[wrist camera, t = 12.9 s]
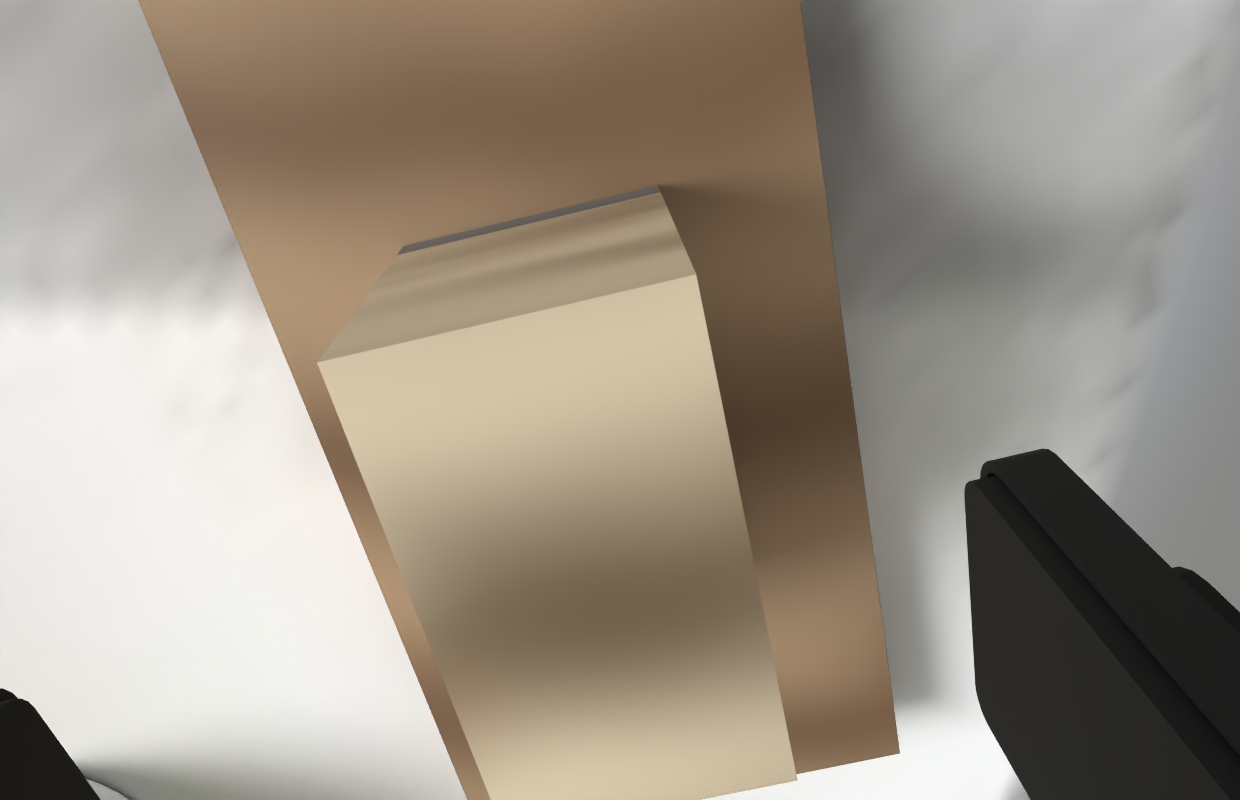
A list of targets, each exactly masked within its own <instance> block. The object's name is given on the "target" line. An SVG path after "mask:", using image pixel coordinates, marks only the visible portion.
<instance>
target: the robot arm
mask: <svg viewBox="0 0 1240 800" xmlns="http://www.w3.org/2000/svg"><path fill="white" fill-rule="evenodd" d="M965 512H966V529H967V547H968V564H969V582H970V599H971V616H972V634H973V651H974V668H975V685H976V692H977V696H978V700H979V704H980V707H981V710H982V712H983V715H984V717H985V720H986V722H987V724H988V725H989V727H990V729H991V731H992V733H993V734H994V736H995V738H996V740H997V741H998V743H999V745H1000V747H1001V748H1002V750H1003V752H1004V754H1005V755H1006V757H1007V759H1008V761H1009V762H1010V764H1011V766H1012V768H1013V769H1014V771H1015V773H1016V775H1017V776H1018V778H1019V780H1020V782H1021V783H1022V785H1023V787H1024V789H1025V790H1026V792H1027V794H1028V796H1029V797H1030V799H1031V800H1240V612H1239V611H1238V610H1237V609H1236V608H1235V607H1234V606H1232V605H1231V604H1230V603H1229V602H1228V601H1227V600H1226V599H1225V598H1224V597H1223V596H1222V595H1221V594H1220V593H1219V592H1218V591H1217V590H1216V589H1215V588H1214V587H1212V586H1211V585H1210V584H1209V583H1208V582H1207V581H1205V580H1204V579H1203V578H1202V577H1200V576H1199V575H1198V574H1196V573H1195V572H1194V571H1191V570H1188V569H1185V568H1182V567H1175V568H1171V567H1170V566H1169V565H1168V564H1167V563H1166V562H1165V561H1164V560H1163V559H1162V558H1161V557H1160V556H1159V555H1158V554H1157V553H1156V552H1155V551H1154V550H1153V549H1152V548H1151V547H1150V546H1149V545H1148V544H1147V543H1146V542H1145V541H1144V540H1143V539H1142V538H1141V537H1140V536H1139V535H1138V534H1137V533H1136V532H1135V531H1134V530H1133V529H1132V528H1131V527H1130V526H1129V525H1127V524H1126V523H1125V522H1124V521H1123V520H1122V519H1121V518H1120V517H1119V516H1118V515H1117V514H1116V513H1115V512H1114V511H1113V510H1112V509H1111V508H1110V507H1109V506H1108V505H1107V504H1106V503H1105V502H1104V501H1103V500H1102V499H1101V498H1100V497H1099V496H1098V495H1097V494H1096V493H1095V492H1094V491H1093V490H1092V489H1091V488H1090V487H1089V486H1088V485H1087V484H1086V483H1085V482H1084V481H1083V480H1082V479H1081V478H1080V477H1079V476H1078V475H1077V474H1076V473H1075V472H1074V471H1072V470H1071V469H1070V468H1069V467H1068V466H1067V465H1066V464H1065V463H1064V462H1063V461H1062V460H1061V459H1060V458H1059V457H1058V456H1057V455H1056V454H1055V453H1053V452H1052V451H1051V450H1049V449H1039V450H1035V451H1031V452H1026V453H1022V454H1017V455H1013V456H1009V457H1004V458H1000V459H996V460H991V461H987V462H986V463H984V464H983V466H982V469H981V477H980V479H978V480H973V481H969V482H968V483H967V484H966V486H965ZM0 800H101V799H100V798H99V796H98V795H97V794H96V792H95V791H94V790H93V788H92V787H91V785H90V784H89V783H88V781H87V780H86V778H85V777H84V776H83V774H82V773H81V771H80V770H79V769H78V767H77V766H76V765H75V763H74V762H73V760H72V759H71V758H70V756H69V755H68V753H67V752H66V751H65V749H64V748H63V747H62V745H61V744H60V742H59V741H58V740H57V738H56V737H55V735H54V734H53V733H52V731H51V730H50V729H49V727H48V726H47V724H46V723H45V722H44V720H43V719H42V717H41V716H40V715H39V713H38V712H37V711H36V709H35V708H34V707H33V706H32V705H31V704H30V703H29V702H28V701H25V700H23V699H18V698H17V697H16V696H15V695H14V694H13V693H12V692H9V691H7V690H5V689H0Z"/></svg>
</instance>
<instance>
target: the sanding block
mask: <svg viewBox="0 0 1240 800" xmlns="http://www.w3.org/2000/svg"><path fill="white" fill-rule="evenodd" d="M317 364H318V367H319V369H320V372H321V374H322V377H323V379H324V382H325V384H326V387H327V389H328V392H329V394H330V397H331V399H332V402H333V404H334V407H335V409H336V412H337V414H338V417H339V419H340V422H341V424H342V427H343V430H344V432H345V435H346V437H347V440H348V442H349V445H350V447H351V450H352V452H353V455H354V457H355V460H356V462H357V465H358V467H359V470H360V472H361V475H362V477H363V480H364V482H365V485H366V487H367V490H368V492H369V495H370V497H371V500H372V502H373V505H374V507H375V510H376V512H377V515H378V518H379V520H380V523H381V525H382V528H383V530H384V533H385V535H386V538H387V540H388V543H389V545H390V548H391V550H392V553H393V555H394V558H395V560H396V563H397V565H398V568H399V570H400V573H401V575H402V578H403V580H404V583H405V585H406V588H407V590H408V593H409V595H410V598H411V601H412V603H413V606H414V608H415V611H416V613H417V616H418V618H419V621H420V623H421V626H422V628H423V631H424V633H425V636H426V638H427V641H428V643H429V646H430V648H431V651H432V653H433V656H434V658H435V661H436V663H437V666H438V668H439V671H440V673H441V676H442V678H443V681H444V683H445V686H446V689H447V691H448V694H449V696H450V699H451V701H452V704H453V706H454V709H455V711H456V714H457V716H458V719H459V721H460V724H461V726H462V729H463V731H464V734H465V736H466V739H467V741H468V744H469V746H470V749H471V751H472V754H473V756H474V759H475V761H476V764H477V766H478V769H479V771H480V774H481V777H482V779H483V782H484V784H485V787H486V789H487V792H488V794H489V797H490V799H491V800H701V799H706V798H711V797H716V796H721V795H726V794H731V793H736V792H741V791H746V790H751V789H756V788H761V787H766V786H771V785H776V784H781V783H786V782H791V781H796V780H797V776H796V771H795V766H794V761H793V756H792V751H791V746H790V741H789V736H788V731H787V726H786V721H785V716H784V711H783V706H782V701H781V696H780V691H779V686H778V681H777V676H776V671H775V666H774V661H773V656H772V651H771V646H770V641H769V636H768V631H767V626H766V621H765V616H764V611H763V606H762V601H761V596H760V591H759V586H758V581H757V576H756V571H755V566H754V561H753V556H752V551H751V546H750V541H749V536H748V531H747V526H746V521H745V516H744V511H743V506H742V501H741V496H740V491H739V486H738V481H737V476H736V471H735V466H734V461H733V456H732V451H731V446H730V441H729V436H728V431H727V426H726V421H725V416H724V411H723V406H722V401H721V396H720V391H719V386H718V381H717V376H716V371H715V366H714V361H713V356H712V351H711V346H710V341H709V336H708V331H707V326H706V321H705V316H704V311H703V306H702V301H701V296H700V291H699V286H698V281H697V276H696V273H695V270H694V268H693V266H692V263H691V261H690V259H689V256H688V254H687V252H686V250H685V247H684V245H683V243H682V240H681V238H680V236H679V233H678V231H677V229H676V226H675V224H674V222H673V219H672V217H671V215H670V212H669V210H668V208H667V205H666V203H665V201H664V199H663V196H662V194H661V192H660V189H659V187H658V186H653V187H649V188H645V189H641V190H637V191H632V192H628V193H624V194H620V195H616V196H612V197H607V198H603V199H599V200H595V201H591V202H586V203H582V204H578V205H574V206H570V207H566V208H561V209H557V210H553V211H549V212H545V213H540V214H536V215H532V216H528V217H524V218H520V219H515V220H511V221H507V222H503V223H499V224H494V225H490V226H486V227H482V228H478V229H473V230H469V231H465V232H461V233H457V234H453V235H448V236H444V237H440V238H436V239H432V240H427V241H423V242H419V243H415V244H411V245H407V246H403V247H402V249H401V250H400V251H399V253H398V254H397V255H396V257H395V258H394V259H393V261H392V262H391V263H390V265H389V266H388V267H387V269H386V270H385V272H384V273H383V274H382V276H381V277H380V278H379V280H378V281H377V282H376V284H375V285H374V286H373V288H372V289H371V290H370V292H369V293H368V294H367V296H366V297H365V299H364V300H363V301H362V303H361V304H360V305H359V307H358V308H357V309H356V311H355V312H354V313H353V315H352V316H351V317H350V319H349V320H348V321H347V323H346V324H345V326H344V327H343V328H342V330H341V331H340V332H339V334H338V335H337V336H336V338H335V339H334V340H333V342H332V343H331V344H330V346H329V347H328V349H327V350H326V351H325V353H324V354H323V355H322V357H321V358H320V359H319V361H318V362H317Z"/></svg>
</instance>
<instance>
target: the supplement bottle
mask: <svg viewBox="0 0 1240 800" xmlns="http://www.w3.org/2000/svg"><path fill="white" fill-rule="evenodd" d="M86 780H87V781H88V783H89V784H90V785H91V787H92V788H93V790H94V791H95V792H96V794H97V795H98V796H99V798H100V799H101V800H129V799H127V798H126V797H124V796H123V795H121V794H120V793H118V792H116V791H114V790H112V789H110V788H108V787H106V786H104V785H102V784H99V783H96V782H94V781H91V780H88V779H86Z"/></svg>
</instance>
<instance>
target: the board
mask: <svg viewBox="0 0 1240 800" xmlns="http://www.w3.org/2000/svg"><path fill="white" fill-rule="evenodd" d="M138 1H139V3H140V6H141V8H142V11H143V13H144V16H145V18H146V20H147V23H148V25H149V28H150V30H151V33H152V35H153V37H154V40H155V42H156V45H157V47H158V50H159V52H160V54H161V57H162V59H163V62H164V64H165V67H166V69H167V71H168V74H169V76H170V79H171V81H172V84H173V86H174V88H175V91H176V93H177V96H178V98H179V101H180V103H181V105H182V108H183V110H184V113H185V115H186V118H187V120H188V122H189V125H190V127H191V130H192V132H193V135H194V137H195V139H196V142H197V144H198V147H199V149H200V152H201V154H202V156H203V159H204V161H205V164H206V166H207V169H208V171H209V173H210V176H211V178H212V181H213V183H214V186H215V188H216V190H217V193H218V195H219V198H220V200H221V203H222V205H223V207H224V210H225V212H226V215H227V217H228V220H229V222H230V224H231V227H232V229H233V232H234V234H235V237H236V239H237V241H238V244H239V246H240V249H241V251H242V254H243V256H244V258H245V261H246V263H247V266H248V268H249V270H250V273H251V275H252V278H253V280H254V283H255V285H256V287H257V290H258V292H259V295H260V297H261V300H262V302H263V304H264V307H265V309H266V312H267V314H268V317H269V319H270V321H271V324H272V326H273V329H274V331H275V334H276V336H277V338H278V341H279V343H280V346H281V348H282V351H283V353H284V355H285V358H286V360H287V363H288V365H289V368H290V370H291V372H292V375H293V377H294V380H295V382H296V385H297V387H298V389H299V392H300V394H301V397H302V399H303V402H304V404H305V406H306V409H307V411H308V414H309V416H310V419H311V421H312V423H313V426H314V428H315V431H316V433H317V436H318V438H319V440H320V443H321V445H322V448H323V450H324V453H325V455H326V457H327V460H328V462H329V465H330V467H331V470H332V472H333V474H334V477H335V479H336V482H337V484H338V487H339V489H340V491H341V494H342V496H343V499H344V501H345V504H346V506H347V508H348V511H349V513H350V516H351V518H352V521H353V523H354V525H355V528H356V530H357V533H358V535H359V538H360V540H361V542H362V545H363V547H364V550H365V552H366V555H367V557H368V559H369V562H370V564H371V567H372V569H373V572H374V574H375V576H376V579H377V581H378V584H379V586H380V589H381V591H382V593H383V596H384V598H385V601H386V603H387V606H388V608H389V610H390V613H391V615H392V618H393V620H394V623H395V625H396V627H397V630H398V632H399V635H400V637H401V640H402V642H403V644H404V647H405V649H406V652H407V654H408V656H409V659H410V661H411V664H412V666H413V669H414V671H415V673H416V676H417V678H418V681H419V683H420V686H421V688H422V690H423V693H424V695H425V698H426V700H427V703H428V705H429V707H430V710H431V712H432V715H433V717H434V720H435V722H436V724H437V727H438V729H439V732H440V734H441V737H442V739H443V741H444V744H445V746H446V749H447V751H448V754H449V756H450V758H451V761H452V763H453V766H454V768H455V771H456V773H457V775H458V778H459V780H460V783H461V785H462V788H463V790H464V792H465V795H466V797H467V800H491V799H490V797H489V794H488V792H487V789H486V787H485V784H484V782H483V779H482V777H481V774H480V771H479V769H478V766H477V764H476V761H475V759H474V756H473V754H472V751H471V749H470V746H469V744H468V741H467V739H466V736H465V734H464V731H463V729H462V726H461V724H460V721H459V719H458V716H457V714H456V711H455V709H454V706H453V704H452V701H451V699H450V696H449V694H448V691H447V689H446V686H445V683H444V681H443V678H442V676H441V673H440V671H439V668H438V666H437V663H436V661H435V658H434V656H433V653H432V651H431V648H430V646H429V643H428V641H427V638H426V636H425V633H424V631H423V628H422V626H421V623H420V621H419V618H418V616H417V613H416V611H415V608H414V606H413V603H412V601H411V598H410V595H409V593H408V590H407V588H406V585H405V583H404V580H403V578H402V575H401V573H400V570H399V568H398V565H397V563H396V560H395V558H394V555H393V553H392V550H391V548H390V545H389V543H388V540H387V538H386V535H385V533H384V530H383V528H382V525H381V523H380V520H379V518H378V515H377V512H376V510H375V507H374V505H373V502H372V500H371V497H370V495H369V492H368V490H367V487H366V485H365V482H364V480H363V477H362V475H361V472H360V470H359V467H358V465H357V462H356V460H355V457H354V455H353V452H352V450H351V447H350V445H349V442H348V440H347V437H346V435H345V432H344V430H343V427H342V424H341V422H340V419H339V417H338V414H337V412H336V409H335V407H334V404H333V402H332V399H331V397H330V394H329V392H328V389H327V387H326V384H325V382H324V379H323V377H322V374H321V372H320V369H319V367H318V364H317V362H318V361H319V359H320V358H321V357H322V355H323V354H324V353H325V351H326V350H327V349H328V347H329V346H330V344H331V343H332V342H333V340H334V339H335V338H336V336H337V335H338V334H339V332H340V331H341V330H342V328H343V327H344V326H345V324H346V323H347V321H348V320H349V319H350V317H351V316H352V315H353V313H354V312H355V311H356V309H357V308H358V307H359V305H360V304H361V303H362V301H363V300H364V299H365V297H366V296H367V294H368V293H369V292H370V290H371V289H372V288H373V286H374V285H375V284H376V282H377V281H378V280H379V278H380V277H381V276H382V274H383V273H384V272H385V270H386V269H387V267H388V266H389V265H390V263H391V262H392V261H393V259H394V258H395V257H396V255H397V254H398V253H399V251H400V250H401V249H402V247H403V246H407V245H411V244H415V243H419V242H423V241H427V240H432V239H436V238H440V237H444V236H448V235H453V234H457V233H461V232H465V231H469V230H473V229H478V228H482V227H486V226H490V225H494V224H499V223H503V222H507V221H511V220H515V219H520V218H524V217H528V216H532V215H536V214H540V213H545V212H549V211H553V210H557V209H561V208H566V207H570V206H574V205H578V204H582V203H586V202H591V201H595V200H599V199H603V198H607V197H612V196H616V195H620V194H624V193H628V192H632V191H637V190H641V189H645V188H649V187H653V186H658V187H659V189H660V192H661V194H662V196H663V199H664V201H665V203H666V205H667V208H668V210H669V212H670V215H671V217H672V219H673V222H674V224H675V226H676V229H677V231H678V233H679V236H680V238H681V240H682V243H683V245H684V247H685V250H686V252H687V254H688V256H689V259H690V261H691V263H692V266H693V268H694V270H695V273H696V276H697V281H698V286H699V291H700V296H701V301H702V306H703V311H704V316H705V321H706V326H707V331H708V336H709V341H710V346H711V351H712V356H713V361H714V366H715V371H716V376H717V381H718V386H719V391H720V396H721V401H722V406H723V411H724V416H725V421H726V426H727V431H728V436H729V441H730V446H731V451H732V456H733V461H734V466H735V471H736V476H737V481H738V486H739V491H740V496H741V501H742V506H743V511H744V516H745V521H746V526H747V531H748V536H749V541H750V546H751V551H752V556H753V561H754V566H755V571H756V576H757V581H758V586H759V591H760V596H761V601H762V606H763V611H764V616H765V621H766V626H767V631H768V636H769V641H770V646H771V651H772V656H773V661H774V666H775V671H776V676H777V681H778V686H779V691H780V696H781V701H782V706H783V711H784V716H785V721H786V726H787V731H788V736H789V741H790V746H791V751H792V756H793V761H794V766H795V771H796V774H800V773H805V772H810V771H815V770H820V769H825V768H830V767H835V766H840V765H845V764H849V763H854V762H859V761H864V760H869V759H874V758H879V757H884V756H889V755H894V754H899V753H900V750H899V743H898V735H897V728H896V720H895V713H894V705H893V698H892V690H891V683H890V675H889V668H888V660H887V652H886V645H885V637H884V630H883V622H882V615H881V607H880V600H879V592H878V585H877V577H876V570H875V562H874V555H873V547H872V540H871V532H870V524H869V517H868V509H867V502H866V494H865V487H864V479H863V472H862V464H861V457H860V449H859V442H858V434H857V427H856V419H855V411H854V404H853V396H852V389H851V381H850V374H849V366H848V359H847V351H846V344H845V336H844V329H843V321H842V314H841V306H840V298H839V291H838V283H837V276H836V268H835V261H834V253H833V246H832V238H831V231H830V223H829V216H828V208H827V201H826V193H825V185H824V178H823V170H822V163H821V155H820V148H819V140H818V133H817V125H816V118H815V110H814V103H813V95H812V88H811V80H810V73H809V65H808V57H807V50H806V42H805V35H804V27H803V20H802V12H801V5H800V0H138Z"/></svg>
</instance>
